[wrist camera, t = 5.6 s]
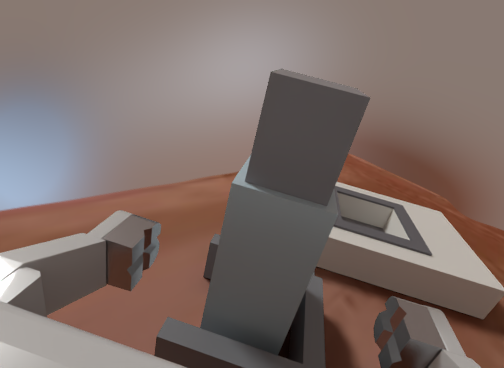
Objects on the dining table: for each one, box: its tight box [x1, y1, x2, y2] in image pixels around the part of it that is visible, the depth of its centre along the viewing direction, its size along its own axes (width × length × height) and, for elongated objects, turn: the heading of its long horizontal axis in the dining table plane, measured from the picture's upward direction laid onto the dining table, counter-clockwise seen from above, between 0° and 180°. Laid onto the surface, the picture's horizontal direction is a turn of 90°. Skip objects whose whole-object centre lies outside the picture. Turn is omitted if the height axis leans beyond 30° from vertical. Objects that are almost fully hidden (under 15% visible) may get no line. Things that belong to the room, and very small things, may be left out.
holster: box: [154, 234, 326, 368], centre depth 16 cm, size 7×8×3 cm
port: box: [316, 182, 504, 319], centre depth 27 cm, size 18×12×3 cm, turn 78°
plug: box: [200, 69, 370, 355], centre depth 13 cm, size 4×4×14 cm
